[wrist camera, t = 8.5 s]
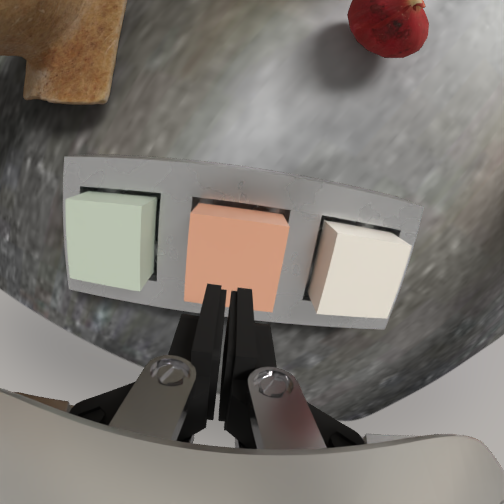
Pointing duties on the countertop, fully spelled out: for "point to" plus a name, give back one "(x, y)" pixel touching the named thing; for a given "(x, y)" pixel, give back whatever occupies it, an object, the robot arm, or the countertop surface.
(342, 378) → the countertop surface
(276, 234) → the terracotta key
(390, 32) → the onion
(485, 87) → the countertop surface
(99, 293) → the keypad housing
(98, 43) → the brown hollow boot-shaped piece
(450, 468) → the robot arm
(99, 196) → the sage key
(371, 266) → the cream key
